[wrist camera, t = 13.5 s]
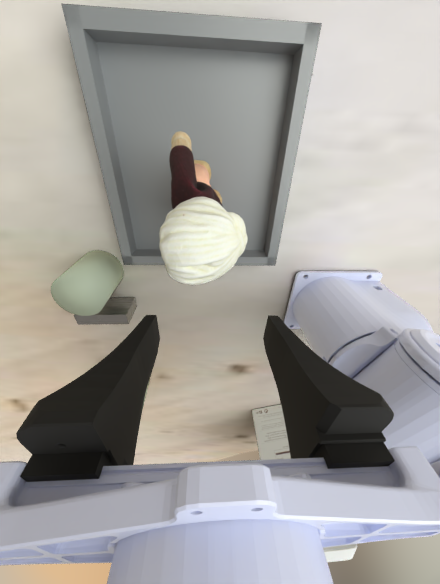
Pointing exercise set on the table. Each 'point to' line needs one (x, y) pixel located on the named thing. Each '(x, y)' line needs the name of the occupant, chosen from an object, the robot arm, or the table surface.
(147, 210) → the tray
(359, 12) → the table surface
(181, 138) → the grandmother figurine
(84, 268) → the pale green rounded block
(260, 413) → the supplement box
